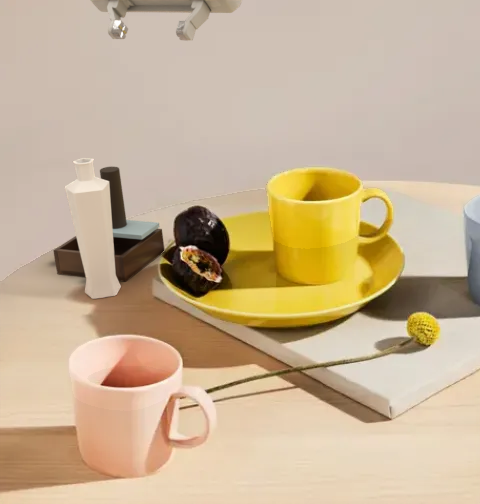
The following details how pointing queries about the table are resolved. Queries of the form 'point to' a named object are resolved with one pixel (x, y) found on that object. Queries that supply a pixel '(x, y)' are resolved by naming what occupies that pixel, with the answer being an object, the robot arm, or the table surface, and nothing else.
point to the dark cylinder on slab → (123, 210)
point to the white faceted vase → (93, 229)
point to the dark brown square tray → (125, 253)
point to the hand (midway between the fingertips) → (149, 37)
